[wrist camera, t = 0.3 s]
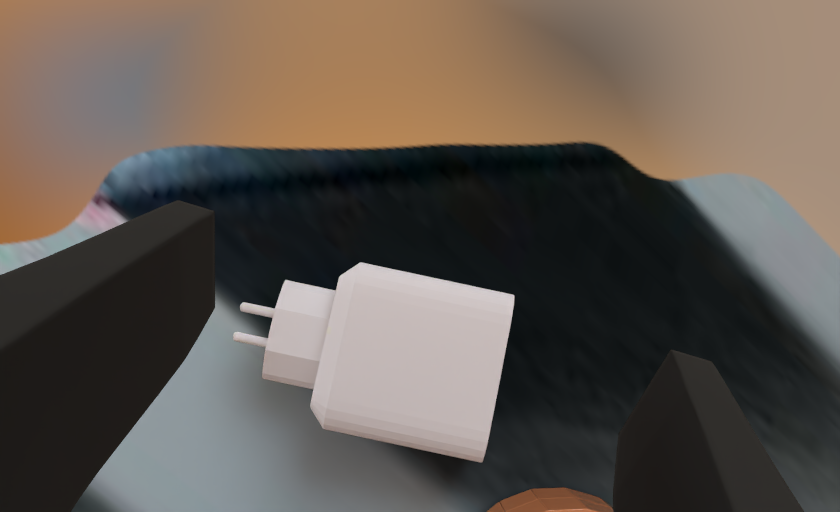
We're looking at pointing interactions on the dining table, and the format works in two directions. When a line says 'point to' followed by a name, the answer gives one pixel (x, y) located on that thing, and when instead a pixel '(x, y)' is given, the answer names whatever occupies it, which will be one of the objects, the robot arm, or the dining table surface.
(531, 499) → the basin
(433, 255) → the dining table surface
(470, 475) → the dining table surface
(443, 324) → the charger
